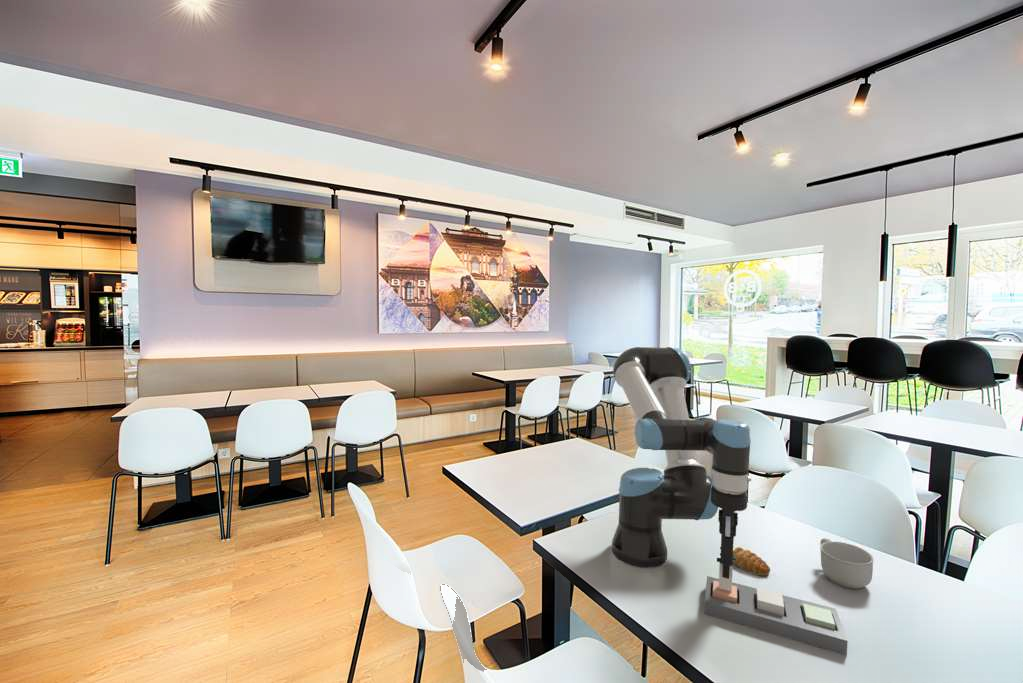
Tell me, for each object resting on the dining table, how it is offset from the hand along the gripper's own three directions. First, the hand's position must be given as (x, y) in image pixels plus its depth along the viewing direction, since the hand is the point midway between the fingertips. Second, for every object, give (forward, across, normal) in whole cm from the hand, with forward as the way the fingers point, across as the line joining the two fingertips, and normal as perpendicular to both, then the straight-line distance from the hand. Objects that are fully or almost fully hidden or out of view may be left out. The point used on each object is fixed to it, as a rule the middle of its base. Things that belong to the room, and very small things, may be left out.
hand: (725, 588), depth 101 cm
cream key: (+2, 0, -9) cm, 9 cm away
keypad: (+4, 0, -9) cm, 10 cm away
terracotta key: (+3, 0, 0) cm, 3 cm away
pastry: (+5, +22, -6) cm, 23 cm away
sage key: (+3, 0, -18) cm, 18 cm away
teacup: (+4, +27, -27) cm, 39 cm away
